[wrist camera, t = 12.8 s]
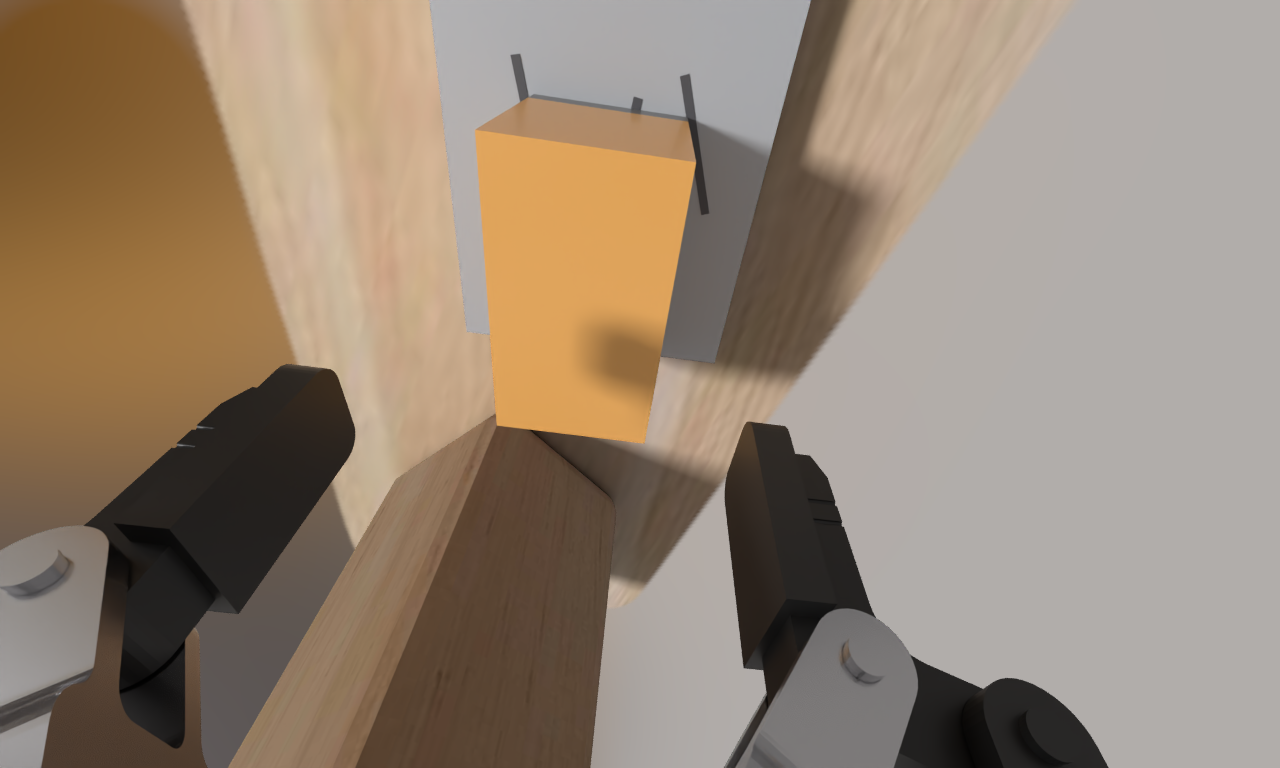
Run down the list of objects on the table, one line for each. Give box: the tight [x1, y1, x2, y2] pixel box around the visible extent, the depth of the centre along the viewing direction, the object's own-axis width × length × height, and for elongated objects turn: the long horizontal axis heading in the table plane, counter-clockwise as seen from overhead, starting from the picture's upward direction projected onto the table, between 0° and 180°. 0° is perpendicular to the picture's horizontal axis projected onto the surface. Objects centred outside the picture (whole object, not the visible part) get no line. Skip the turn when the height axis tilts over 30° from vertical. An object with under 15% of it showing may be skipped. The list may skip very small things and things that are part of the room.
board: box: [429, 0, 811, 363], centre depth 16 cm, size 20×11×2 cm, turn 173°
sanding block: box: [475, 94, 696, 443], centre depth 16 cm, size 9×5×6 cm, turn 173°
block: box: [228, 414, 616, 768], centre depth 22 cm, size 10×10×20 cm
